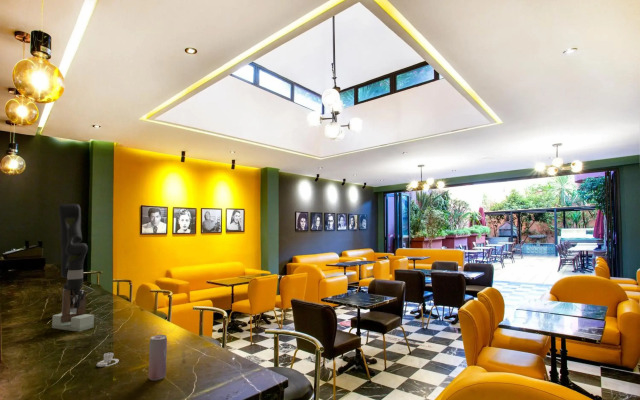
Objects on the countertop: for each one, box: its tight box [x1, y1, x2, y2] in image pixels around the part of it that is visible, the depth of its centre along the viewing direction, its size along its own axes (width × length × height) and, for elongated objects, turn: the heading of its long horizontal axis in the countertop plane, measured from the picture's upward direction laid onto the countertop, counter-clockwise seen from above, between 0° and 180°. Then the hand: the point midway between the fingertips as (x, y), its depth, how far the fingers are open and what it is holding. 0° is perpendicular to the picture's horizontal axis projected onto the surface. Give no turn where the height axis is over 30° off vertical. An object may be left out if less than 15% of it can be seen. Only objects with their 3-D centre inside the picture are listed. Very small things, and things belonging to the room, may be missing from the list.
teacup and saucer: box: [96, 351, 119, 368], centre depth 141 cm, size 9×8×4 cm
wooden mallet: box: [61, 289, 87, 323], centre depth 191 cm, size 4×11×18 cm, turn 140°
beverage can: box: [148, 334, 168, 382], centre depth 127 cm, size 6×6×15 cm
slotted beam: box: [51, 312, 95, 332], centre depth 191 cm, size 8×22×7 cm, turn 71°
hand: (73, 307), depth 191 cm, fingers closed on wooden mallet, 4 cm apart
